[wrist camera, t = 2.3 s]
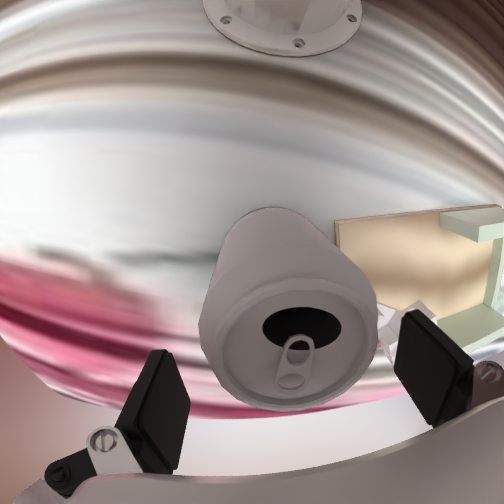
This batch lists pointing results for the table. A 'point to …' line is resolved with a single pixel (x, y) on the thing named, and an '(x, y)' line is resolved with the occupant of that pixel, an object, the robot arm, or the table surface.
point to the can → (286, 314)
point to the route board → (418, 260)
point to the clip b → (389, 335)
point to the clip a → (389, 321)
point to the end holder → (483, 315)
